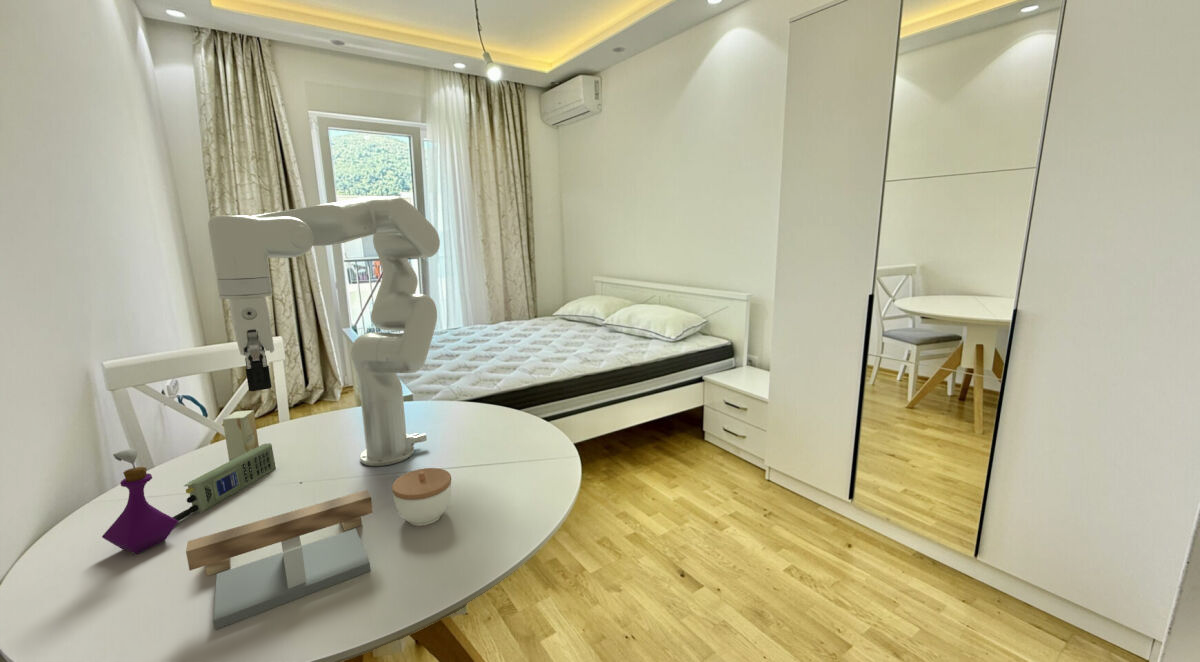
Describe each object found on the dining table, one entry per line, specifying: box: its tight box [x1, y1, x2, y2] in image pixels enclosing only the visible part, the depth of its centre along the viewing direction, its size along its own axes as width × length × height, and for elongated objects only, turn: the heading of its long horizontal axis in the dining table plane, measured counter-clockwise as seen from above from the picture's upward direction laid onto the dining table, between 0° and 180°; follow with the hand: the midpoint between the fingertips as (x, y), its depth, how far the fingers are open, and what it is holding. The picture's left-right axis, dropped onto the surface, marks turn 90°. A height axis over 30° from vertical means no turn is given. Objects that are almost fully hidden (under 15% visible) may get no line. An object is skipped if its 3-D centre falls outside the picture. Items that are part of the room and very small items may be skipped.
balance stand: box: [213, 527, 371, 631], centre depth 76 cm, size 20×12×8 cm, turn 127°
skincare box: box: [222, 409, 260, 462], centre depth 118 cm, size 6×4×12 cm
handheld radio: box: [171, 442, 277, 522], centre depth 102 cm, size 7×3×25 cm
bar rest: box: [205, 516, 363, 576], centre depth 86 cm, size 23×5×4 cm, turn 127°
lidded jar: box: [391, 467, 452, 527], centre depth 93 cm, size 11×11×9 cm
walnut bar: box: [185, 489, 374, 571], centre depth 75 cm, size 24×3×3 cm, turn 127°
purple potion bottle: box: [101, 448, 179, 555], centre depth 84 cm, size 8×8×18 cm
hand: (259, 383), depth 86 cm, fingers open, 9 cm apart
